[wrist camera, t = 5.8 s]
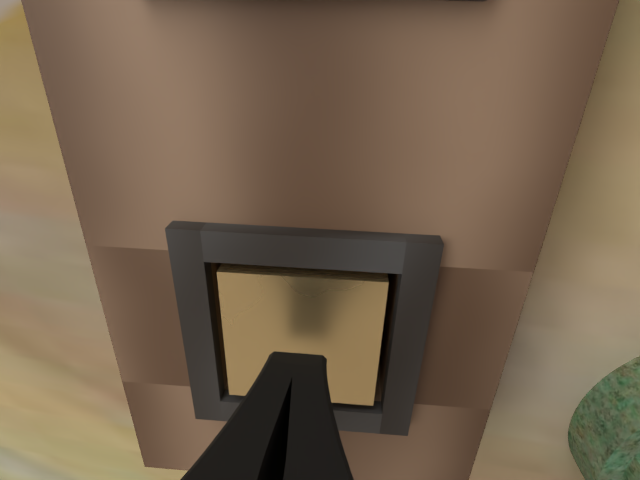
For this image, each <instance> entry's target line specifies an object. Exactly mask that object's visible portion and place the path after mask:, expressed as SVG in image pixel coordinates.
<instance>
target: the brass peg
mask: <svg viewBox="0 0 640 480" xmlns="http://www.w3.org/2000/svg"><path fill="white" fill-rule="evenodd" d="M217 280H218V290H219V300H220V310H221V319H222V329H223V339H224V349H225V358H226V368H227V378H228V388H229V395H241V396H245V395H246V394H247V392H248V391H249V389H250V388H251V386H252V385H253V383H254V381H255V380H256V378H257V377H258V375H259V373H260V372H261V370H262V368H263V366H264V364H265V363H266V361H267V359H268V357H269V355H270V354H271V353H272V352H274V351H276V352H289V353H302V354H316V355H323V356H324V357H325V358H326V359H327V379H328V386H329V392H330V398H331V403H344V404H357V405H370V406H373V404H374V396H375V388H376V380H377V372H378V364H379V356H380V348H381V340H382V332H383V324H384V316H385V308H386V300H387V292H388V284H389V281H388V274H387V273H376V272H360V271H343V270H327V269H311V268H294V267H278V266H261V265H245V264H229V263H221V265H220V267H219V269H218V270H217Z"/></svg>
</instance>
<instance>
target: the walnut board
mask: <svg viewBox="0 0 640 480" xmlns="http://www.w3.org/2000/svg"><path fill="white" fill-rule="evenodd" d="M21 1H22V5H23V8H24V12H25V16H26V20H27V23H28V27H29V31H30V35H31V39H32V42H33V46H34V50H35V54H36V57H37V61H38V65H39V69H40V73H41V76H42V80H43V84H44V88H45V91H46V95H47V99H48V103H49V107H50V110H51V114H52V118H53V122H54V125H55V129H56V133H57V137H58V141H59V144H60V148H61V152H62V156H63V159H64V163H65V167H66V171H67V175H68V178H69V182H70V186H71V190H72V193H73V197H74V201H75V205H76V209H77V212H78V216H79V220H80V224H81V227H82V231H83V235H84V239H85V243H86V246H87V250H88V254H89V258H90V261H91V265H92V269H93V273H94V277H95V280H96V284H97V288H98V292H99V295H100V299H101V303H102V307H103V311H104V314H105V318H106V322H107V326H108V329H109V333H110V337H111V341H112V345H113V348H114V352H115V356H116V360H117V363H118V367H119V371H120V375H121V379H122V382H123V386H124V390H125V394H126V397H127V401H128V405H129V409H130V413H131V416H132V420H133V424H134V428H135V431H136V435H137V439H138V443H139V447H140V450H141V454H142V458H143V462H144V465H145V467H154V468H165V469H177V470H189V469H190V468H191V467H192V466H193V465H194V463H195V462H196V461H197V460H198V459H199V457H200V456H201V455H202V454H203V452H204V451H205V450H206V449H207V447H208V446H209V445H210V443H211V442H212V441H213V440H214V438H215V437H216V436H217V434H218V433H219V432H220V431H221V429H222V428H223V427H224V425H225V424H226V423H227V421H228V420H229V418H230V417H231V416H232V414H233V413H234V411H235V410H236V408H237V407H238V406H239V404H240V403H241V401H242V400H243V398H244V397H245V396H241V395H229V388H228V378H227V368H226V358H225V349H224V339H223V329H222V319H221V310H220V300H219V290H218V280H217V270H218V269H219V267H220V265H221V263H229V264H245V265H261V266H278V267H294V268H311V269H327V270H343V271H360V272H376V273H387V274H388V281H389V284H388V292H387V300H386V308H385V316H384V324H383V332H382V340H381V348H380V356H379V364H378V372H377V380H376V388H375V396H374V404H373V406H370V405H357V404H344V403H332V407H333V412H334V416H335V420H336V423H337V427H338V431H339V435H340V438H341V442H342V445H343V448H344V452H345V455H346V458H347V461H348V464H349V467H350V470H351V473H352V476H353V479H354V480H469V476H470V473H471V470H472V467H473V464H474V461H475V457H476V454H477V451H478V448H479V445H480V441H481V438H482V435H483V432H484V429H485V426H486V422H487V419H488V416H489V413H490V410H491V407H492V403H493V400H494V397H495V394H496V391H497V387H498V384H499V381H500V378H501V375H502V372H503V368H504V365H505V362H506V359H507V356H508V352H509V349H510V346H511V343H512V340H513V337H514V333H515V330H516V327H517V324H518V321H519V317H520V314H521V311H522V308H523V305H524V302H525V298H526V295H527V292H528V289H529V286H530V283H531V279H532V276H533V273H534V270H535V267H536V263H537V260H538V257H539V254H540V251H541V248H542V244H543V241H544V238H545V235H546V232H547V228H548V225H549V222H550V219H551V216H552V213H553V209H554V206H555V203H556V200H557V197H558V193H559V190H560V187H561V184H562V181H563V178H564V174H565V171H566V168H567V165H568V162H569V158H570V155H571V152H572V149H573V146H574V143H575V139H576V136H577V133H578V130H579V127H580V124H581V120H582V117H583V114H584V111H585V108H586V104H587V101H588V98H589V95H590V92H591V89H592V85H593V82H594V79H595V76H596V73H597V69H598V66H599V63H600V60H601V57H602V54H603V50H604V47H605V44H606V41H607V38H608V34H609V31H610V28H611V25H612V22H613V19H614V15H615V12H616V9H617V6H618V3H619V0H21Z"/></svg>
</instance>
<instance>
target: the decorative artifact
mask: <svg viewBox="0 0 640 480" xmlns="http://www.w3.org/2000/svg"><path fill="white" fill-rule="evenodd" d="M568 441H569V447H570V450H571V453H572V455H573V457H574V459H575V461H576V463H577V465H578V467H579V469H580V471H581V472H582V474H583V476H584V478H585V480H640V356H639V357H637V358H635V359H633V360H631V361H629V362H628V363H626V364H624V365H622V366H621V367H619V368H617V369H616V370H614V371H613V372H611V373H610V374H609V375H607V376H606V377H605V378H603V379H602V380H601V381H600V382H599V383H597V384H596V385H595V386H594V387H593V388H592V389H591V390H590V391H589V392H588V393H587V394H586V396H585V397H584V398H583V399H582V401H581V402H580V404H579V405H578V407H577V408H576V410H575V412H574V414H573V416H572V419H571V422H570V426H569V431H568Z"/></svg>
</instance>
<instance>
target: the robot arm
mask: <svg viewBox="0 0 640 480" xmlns="http://www.w3.org/2000/svg"><path fill="white" fill-rule="evenodd" d="M181 480H354V479H353V476H352V473H351V470H350V467H349V464H348V461H347V458H346V455H345V452H344V448H343V445H342V442H341V438H340V435H339V431H338V427H337V423H336V420H335V416H334V412H333V407H332V403H331V398H330V392H329V386H328V379H327V359H326V358H325V357H324V356H323V355H316V354H302V353H289V352H276V351H274V352H272V353H271V354H270V355H269V357H268V359H267V361H266V363H265V364H264V366H263V368H262V370H261V372H260V373H259V375H258V377H257V378H256V380H255V381H254V383H253V385H252V386H251V388H250V389H249V391H248V392H247V394H246V395H245V397H244V398H243V400H242V401H241V403H240V404H239V406H238V407H237V408H236V410H235V411H234V413H233V414H232V416H231V417H230V418H229V420H228V421H227V423H226V424H225V425H224V427H223V428H222V429H221V431H220V432H219V433H218V434H217V436H216V437H215V438H214V440H213V441H212V442H211V443H210V445H209V446H208V447H207V449H206V450H205V451H204V452H203V454H202V455H201V456H200V457H199V459H198V460H197V461H196V462H195V463H194V465H193V466H192V467H191V468H190V469H189V470H188V472H187V473H186V474H185V475H184V476H183V477H182V479H181Z"/></svg>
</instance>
